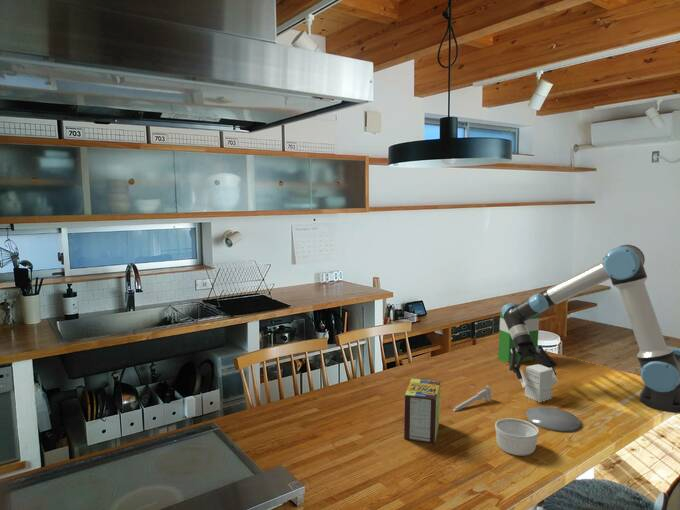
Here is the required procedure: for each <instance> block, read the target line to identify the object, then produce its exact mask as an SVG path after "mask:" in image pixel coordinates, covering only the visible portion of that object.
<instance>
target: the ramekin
mask: <svg viewBox="0 0 680 510" xmlns="http://www.w3.org/2000/svg"><path fill="white" fill-rule="evenodd" d="M494 425H495V426H494V429H495V438H496V444H497V446H498V447H499V448H500V450H502V451H503V452H504V453H507V454H510V455H514V456H518V457H520V456H521V457H522V456H530V455H531V454H532V453H534V452H535V450H536V447H537V443H538V437H539V435H540V431H539V428H538V426H536V425H534V424H532V423H531V422H529V421H527V420H524V419H519V418H512V417H511V418H510V417H507V418H500V419H498V420H496V421H495V424H494Z"/></svg>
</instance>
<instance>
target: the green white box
mask: <svg viewBox="0 0 680 510" xmlns="http://www.w3.org/2000/svg"><path fill="white" fill-rule="evenodd" d="M499 314H500V315H499V335H498V336H499V337H498V351H497V353H498V354H497V355H498V357H497V359H498V360H499V359H500V361H502V362H504V363H506V364H508V363H509V364H510V359H511V353H510V350H511V349H512V348H513V347H514V348H515V345H514V343H513V340H512V338H511V335H510V333H509V330H508V327H507V325H506V323H505V320H504V319H503V315H502V312H501V311H500V313H499ZM525 324H526V326H527V329H528V331H529V333H530V334H529V335H530V336H531V338H532V341H533V345H534V346H535V347H539V344H538V343H539V331H540V330H539V328H540V327H539V325H540V313H539V314H537V315H536V316H534V317H532V318H530V319H528V320H526V321H525ZM515 349H516V348H515ZM536 352H537V351H536ZM519 356H520V354H518V353H516V360H515V362H516V363H517V362H518V359H519ZM535 356H536V355H535ZM527 360H530V361H534V360H533V358H527V359H525V358H524V359H523V362H527Z"/></svg>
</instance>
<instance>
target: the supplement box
mask: <svg viewBox="0 0 680 510" xmlns="http://www.w3.org/2000/svg"><path fill="white" fill-rule="evenodd" d="M552 376H553V369H551V368H548V367H545V366H544V365H542V364H541V363H540V364H539V363H536V364H533V365H528V366H526V367H525V379H526V382H527V384H528V385H527V386H526V387H525V388H524V397H525V396H526V398H527V397H528V398H527V399H530V398H531V399H530V400H532V399H533V400H532V401H534V400H536V401H538V402H537V403H539V402H540V403H543V402H546V400H547V401H550V400H552V395H553V393H552V390H553V383H552ZM549 399H550V400H549ZM536 401H535V402H536ZM542 401H543V402H542Z"/></svg>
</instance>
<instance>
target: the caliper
mask: <svg viewBox="0 0 680 510" xmlns="http://www.w3.org/2000/svg"><path fill="white" fill-rule="evenodd" d="M491 395H492V391H491V387H490V386H489V385H486V386H484V388H483V390H480V391H479V392H477V393H476V394H475V395H474V396H472V397H469V398H468V399H467V400H465V401H462V402H461V403H459V404H458V405H455V406H454V408H453V409H452V411H453V412H454V413H455V412H458V411H460V410H463V409H464V408H466V407H467V406H469V405H471V404H473V403H475V402H476V401H481V400H482V399H484V400H485V402H486V401H487V402H488V400H489V401H490V400H492V396H491Z"/></svg>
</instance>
